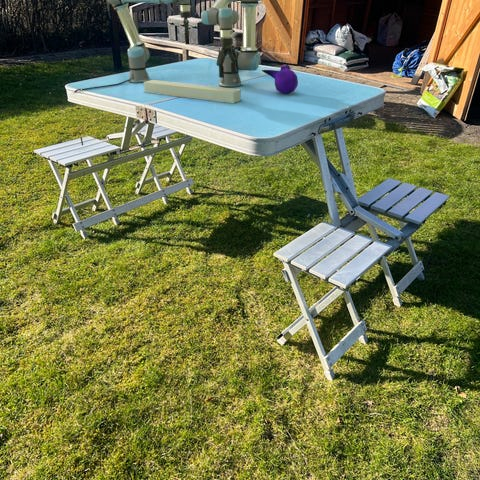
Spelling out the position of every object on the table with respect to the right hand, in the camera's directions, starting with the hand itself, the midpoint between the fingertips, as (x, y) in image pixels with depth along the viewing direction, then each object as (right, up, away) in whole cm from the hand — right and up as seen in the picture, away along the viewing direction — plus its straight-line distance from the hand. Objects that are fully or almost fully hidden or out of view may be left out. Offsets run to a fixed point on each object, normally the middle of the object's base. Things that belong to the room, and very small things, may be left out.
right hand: (227, 75), depth 273 cm
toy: (+35, -2, +25) cm, 43 cm away
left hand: (-32, +48, +65) cm, 87 cm away
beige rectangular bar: (-25, -6, +21) cm, 33 cm away
